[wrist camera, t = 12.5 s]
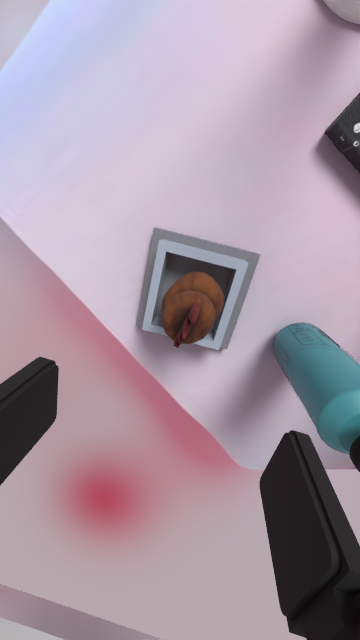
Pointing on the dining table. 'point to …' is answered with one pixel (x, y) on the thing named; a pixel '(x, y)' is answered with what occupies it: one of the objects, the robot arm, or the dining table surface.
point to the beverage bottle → (323, 384)
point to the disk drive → (348, 132)
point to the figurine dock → (203, 256)
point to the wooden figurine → (191, 307)
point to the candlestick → (345, 9)
